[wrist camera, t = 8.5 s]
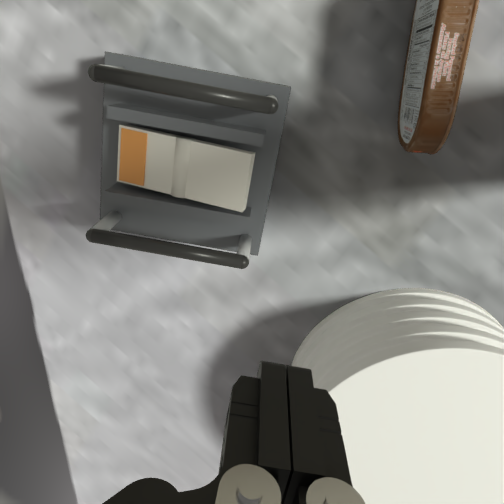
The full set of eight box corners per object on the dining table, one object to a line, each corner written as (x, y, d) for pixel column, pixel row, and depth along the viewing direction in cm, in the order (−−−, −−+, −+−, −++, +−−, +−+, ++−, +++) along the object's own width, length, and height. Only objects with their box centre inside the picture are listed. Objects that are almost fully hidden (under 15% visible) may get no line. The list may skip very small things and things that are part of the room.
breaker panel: (289, 86, 39) (295, 88, 29) (258, 241, 45) (255, 283, 36) (120, 54, 38) (73, 46, 29) (113, 215, 44) (72, 250, 35)
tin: (418, 146, 40) (453, 162, 33) (386, 145, 40) (413, 161, 33) (451, -36, 34) (503, -69, 27) (413, -37, 34) (454, -70, 27)
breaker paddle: (256, 152, 35) (251, 154, 33) (246, 208, 37) (241, 213, 35) (128, 123, 37) (117, 125, 35) (125, 178, 38) (114, 181, 37)
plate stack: (491, 465, 57) (541, 553, 46) (288, 463, 58) (292, 548, 48) (538, 285, 46) (619, 347, 35) (287, 288, 47) (292, 349, 37)
